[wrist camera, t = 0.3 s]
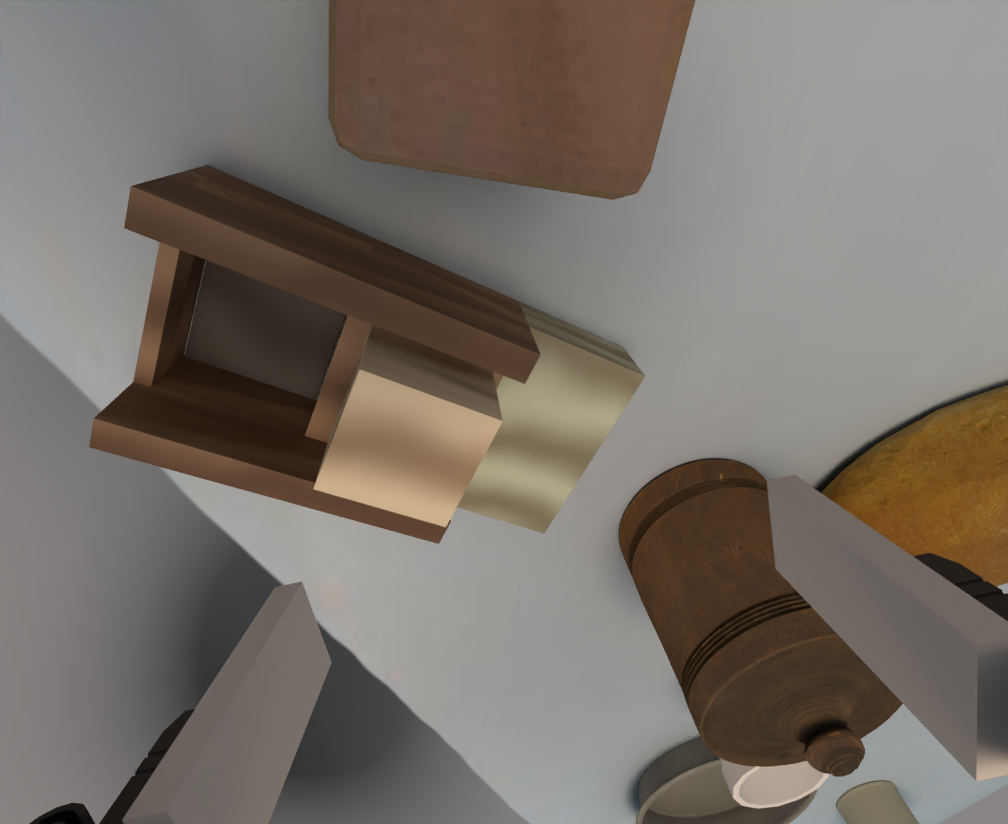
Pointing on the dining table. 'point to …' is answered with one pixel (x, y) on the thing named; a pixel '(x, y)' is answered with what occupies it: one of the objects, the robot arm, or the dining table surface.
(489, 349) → the chute
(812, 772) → the foam cup
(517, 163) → the wooden block
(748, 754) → the wooden container
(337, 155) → the dining table surface
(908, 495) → the bread
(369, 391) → the birch block
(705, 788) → the cake pan
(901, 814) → the can
